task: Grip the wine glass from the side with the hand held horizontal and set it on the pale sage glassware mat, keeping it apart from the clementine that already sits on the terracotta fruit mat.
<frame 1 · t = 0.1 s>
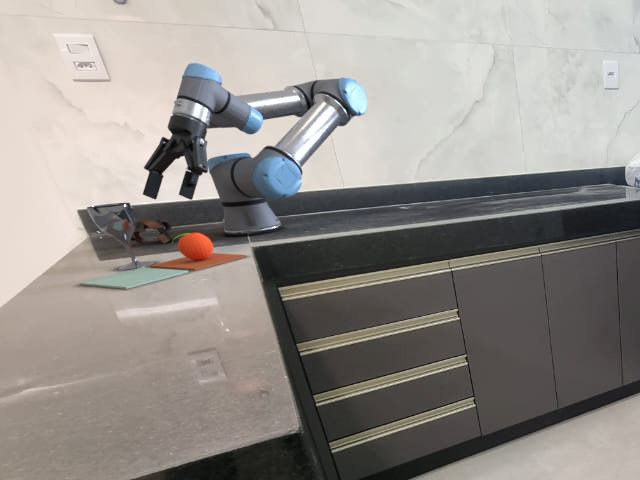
hand: (167, 197, 136), 15 cm above the counter, tool tilted 35°, fingers open, 13 cm apart
brown segmented ring: (157, 243, 161), on the counter
clementine: (199, 261, 135), resting on fruit mat
fruit mat: (199, 262, 135), on the counter
wine glass: (137, 266, 134), on the counter
glass mat: (135, 278, 123), on the counter
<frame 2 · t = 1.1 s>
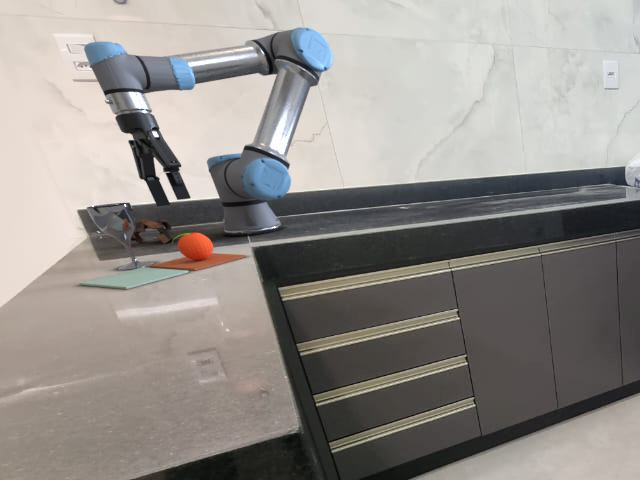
hand: (173, 202, 138), 14 cm above the counter, tool pointing down, fingers open, 13 cm apart
nothing on the counter moved.
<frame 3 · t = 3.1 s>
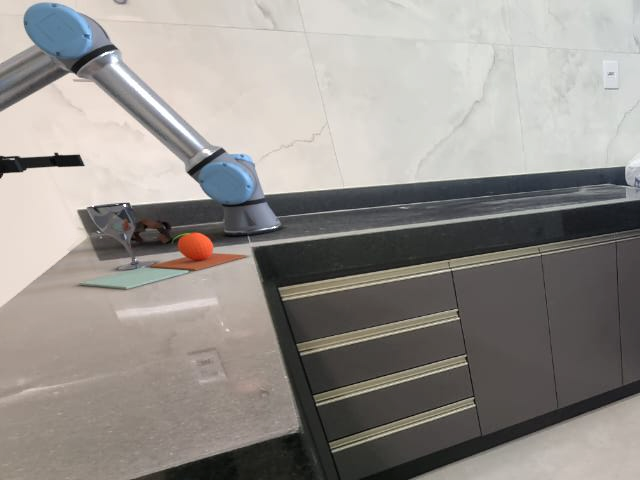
hand: (51, 163, 124), 25 cm above the counter, tool horizontal, fingers open, 13 cm apart
nothing on the counter moved.
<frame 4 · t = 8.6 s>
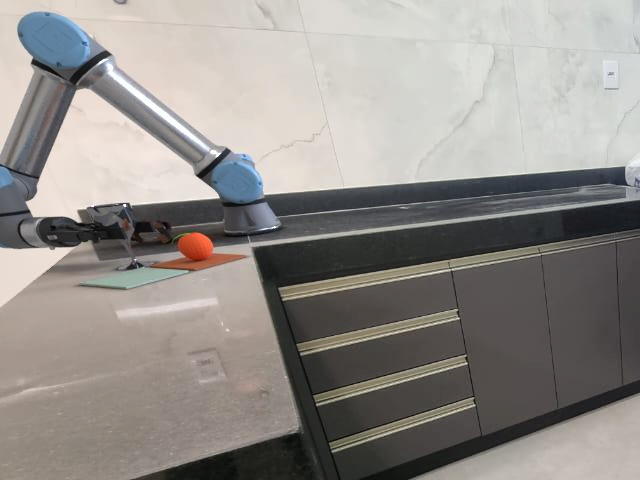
hand: (138, 229, 130), 9 cm above the counter, tool horizontal, fingers closed on wine glass, 7 cm apart
wine glass: (137, 266, 134), on the counter, touching gripper
everything else where it was.
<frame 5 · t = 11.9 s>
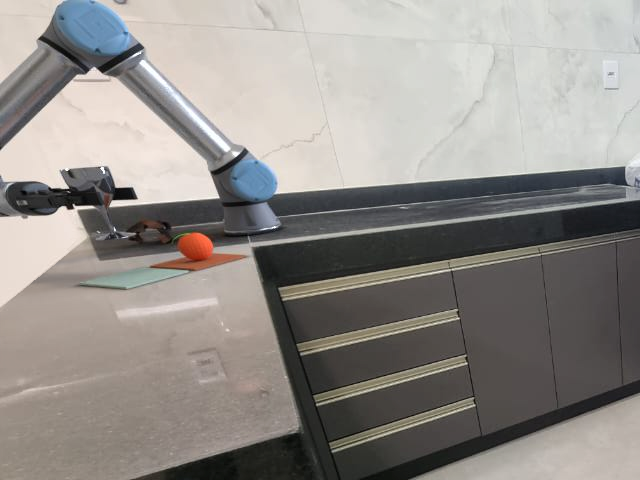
hand: (117, 196, 118), 18 cm above the counter, tool horizontal, fingers closed on wine glass, 7 cm apart
wine glass: (116, 237, 122), point 9 cm above the counter, touching gripper
everything else where it was.
when the fingers open (9 cm above the counter, at t = 15.3 s): wine glass stays where it is, resting on glass mat.
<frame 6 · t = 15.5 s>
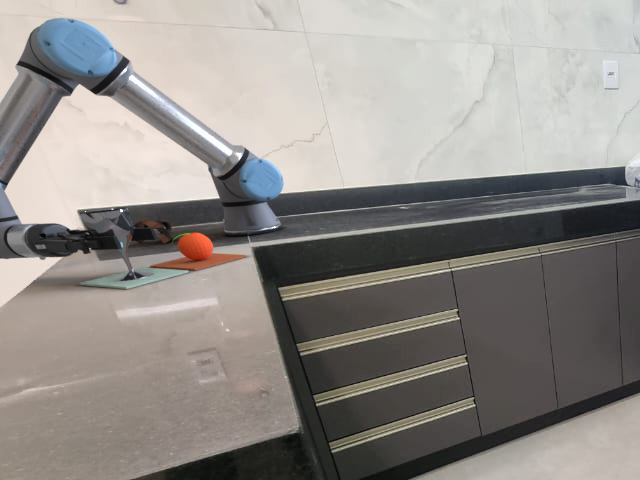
hand: (136, 238, 118), 9 cm above the counter, tool horizontal, fingers open, 8 cm apart
wine glass: (134, 277, 122), resting on glass mat
everything else where it was.
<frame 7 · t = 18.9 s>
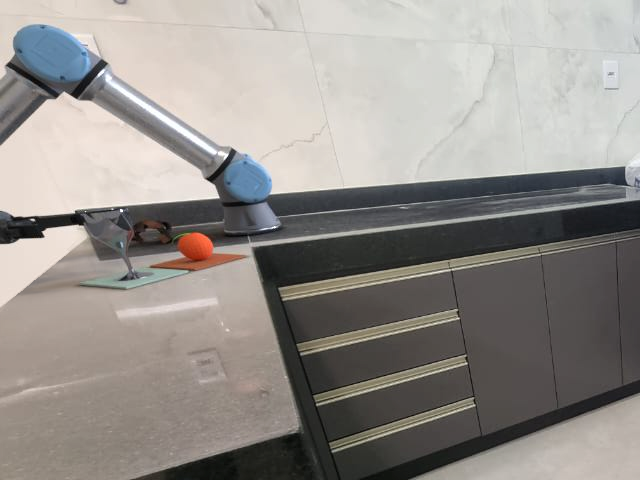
hand: (73, 224, 118), 13 cm above the counter, tool horizontal, fingers open, 13 cm apart
nothing on the counter moved.
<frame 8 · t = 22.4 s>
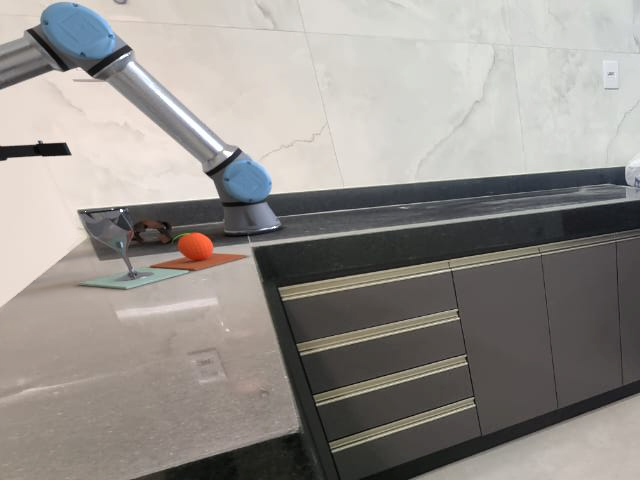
hand: (33, 151, 111), 28 cm above the counter, tool horizontal, fingers open, 13 cm apart
nothing on the counter moved.
at the end: wine glass inside the target area on the glass mat (0.1 cm from its centre), point 0.3 cm above the glass mat's base; wine glass tilted 0°; clementine moved 0.3 cm from its start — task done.
